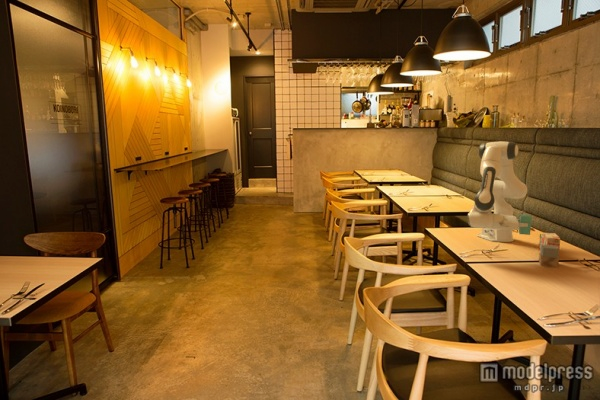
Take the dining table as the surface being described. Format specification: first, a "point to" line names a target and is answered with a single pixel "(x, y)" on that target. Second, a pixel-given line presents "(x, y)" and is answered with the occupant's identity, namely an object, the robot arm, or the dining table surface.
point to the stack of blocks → (549, 240)
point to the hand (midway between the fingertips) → (527, 223)
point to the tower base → (548, 261)
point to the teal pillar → (525, 219)
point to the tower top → (549, 251)
